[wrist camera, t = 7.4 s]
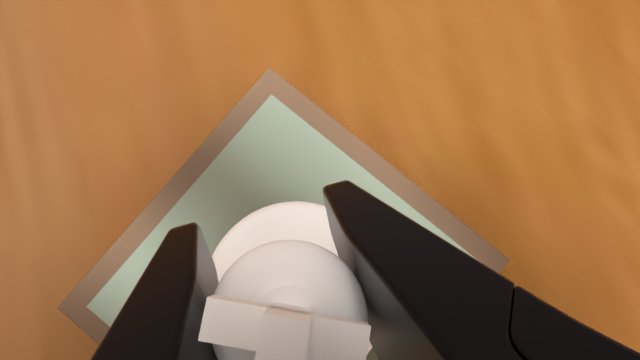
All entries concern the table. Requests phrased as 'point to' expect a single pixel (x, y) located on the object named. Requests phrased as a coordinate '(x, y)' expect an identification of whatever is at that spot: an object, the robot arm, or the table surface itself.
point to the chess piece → (285, 291)
